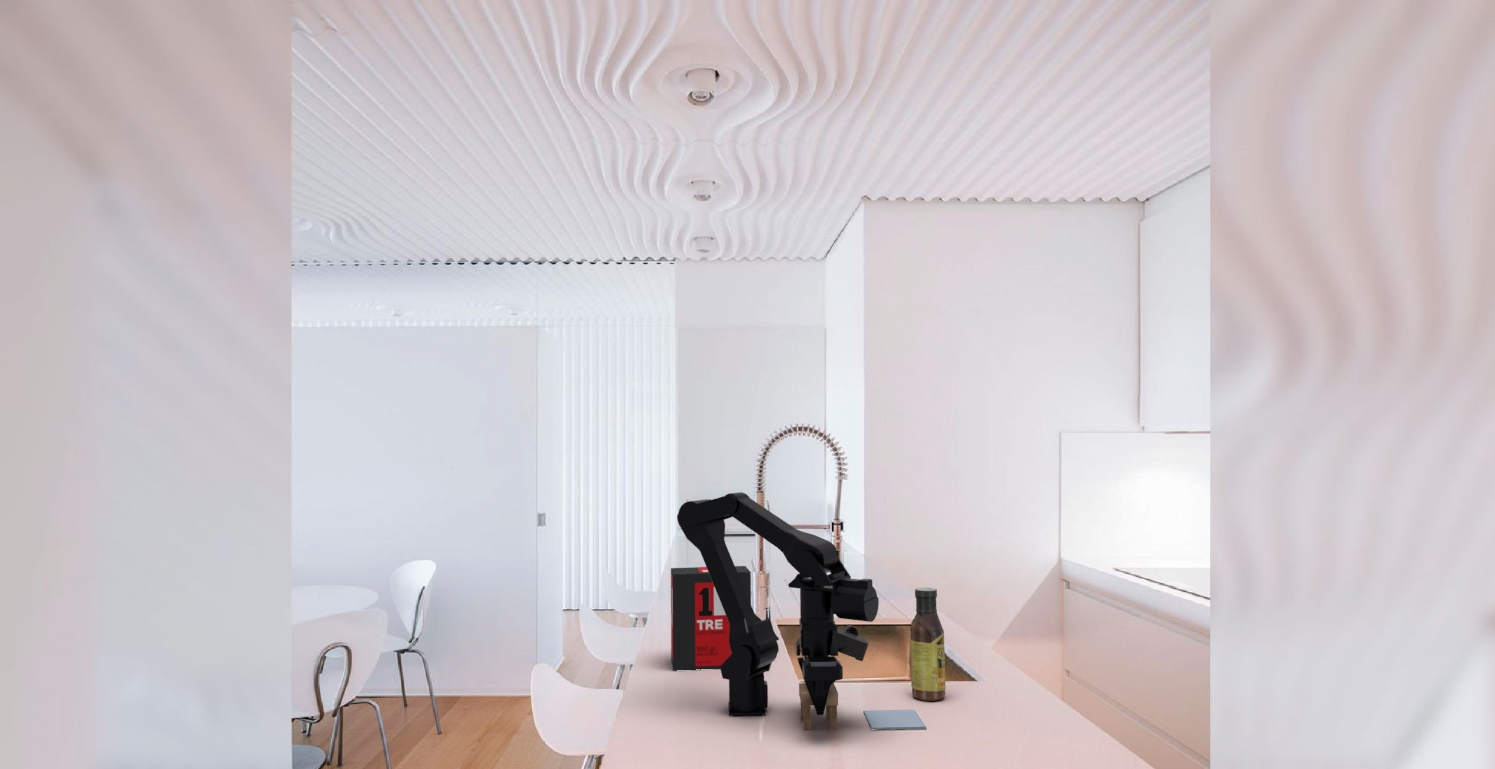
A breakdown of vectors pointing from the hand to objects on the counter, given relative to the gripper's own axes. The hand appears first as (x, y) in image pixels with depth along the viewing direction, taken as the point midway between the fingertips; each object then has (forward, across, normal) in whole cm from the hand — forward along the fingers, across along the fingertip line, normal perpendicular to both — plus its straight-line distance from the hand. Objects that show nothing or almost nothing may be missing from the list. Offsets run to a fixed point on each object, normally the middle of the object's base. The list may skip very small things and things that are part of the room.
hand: (818, 709), depth 146 cm
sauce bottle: (+3, +14, -22) cm, 26 cm away
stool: (+2, 0, 0) cm, 2 cm away
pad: (+2, +1, -13) cm, 13 cm away
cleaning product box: (+3, +40, +19) cm, 44 cm away
